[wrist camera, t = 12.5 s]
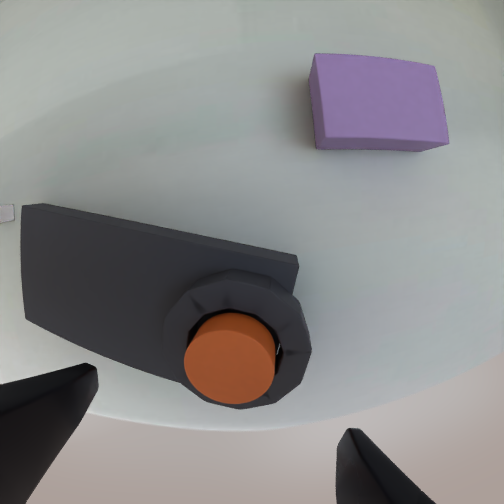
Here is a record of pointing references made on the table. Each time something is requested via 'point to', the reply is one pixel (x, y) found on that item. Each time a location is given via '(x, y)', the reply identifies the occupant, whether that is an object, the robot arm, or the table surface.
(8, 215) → the eraser
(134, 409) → the table surface
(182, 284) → the button base
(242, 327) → the orange push button
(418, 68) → the soap bar
